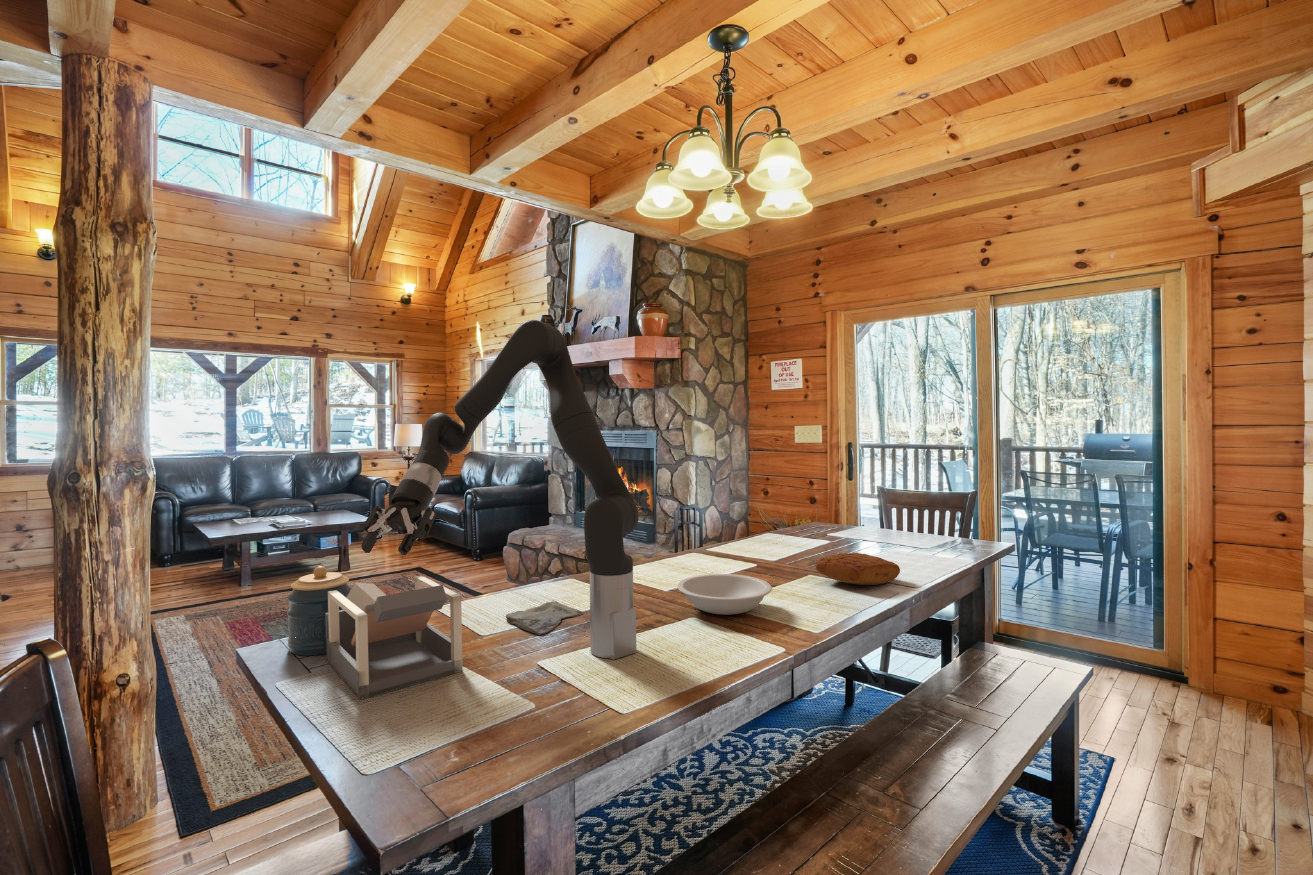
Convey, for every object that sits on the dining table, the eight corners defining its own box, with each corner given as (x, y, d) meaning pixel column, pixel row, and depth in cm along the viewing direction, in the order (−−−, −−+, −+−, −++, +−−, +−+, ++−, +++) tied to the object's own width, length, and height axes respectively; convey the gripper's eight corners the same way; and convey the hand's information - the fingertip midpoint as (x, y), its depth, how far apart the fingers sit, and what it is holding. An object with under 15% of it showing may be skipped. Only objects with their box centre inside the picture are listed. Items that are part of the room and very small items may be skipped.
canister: (343, 631, 147) (341, 556, 146) (363, 645, 138) (361, 566, 137) (280, 645, 138) (278, 566, 137) (297, 662, 128) (295, 576, 128)
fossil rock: (550, 607, 166) (550, 598, 166) (592, 618, 157) (592, 608, 157) (497, 625, 152) (497, 615, 152) (540, 638, 143) (540, 628, 143)
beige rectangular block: (402, 609, 129) (373, 583, 133) (384, 609, 124) (354, 582, 128) (390, 630, 129) (361, 604, 133) (372, 631, 124) (342, 604, 128)
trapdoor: (355, 660, 121) (350, 641, 123) (427, 643, 131) (422, 625, 133) (375, 612, 111) (370, 592, 113) (452, 597, 120) (446, 579, 122)
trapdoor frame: (462, 670, 123) (461, 595, 123) (359, 699, 111) (357, 616, 110) (419, 639, 141) (417, 573, 141) (326, 661, 129) (324, 589, 128)
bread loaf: (856, 596, 173) (857, 567, 173) (810, 582, 187) (810, 556, 187) (905, 583, 185) (905, 556, 185) (858, 571, 199) (858, 547, 199)
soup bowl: (791, 614, 157) (791, 588, 157) (718, 633, 144) (718, 604, 144) (729, 592, 177) (729, 569, 177) (659, 607, 164) (659, 582, 163)
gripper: (380, 476, 135) (343, 539, 124) (439, 478, 132) (405, 543, 121) (397, 498, 140) (362, 560, 130) (453, 499, 137) (422, 563, 126)
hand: (383, 551), depth 125 cm, fingers open, 8 cm apart
